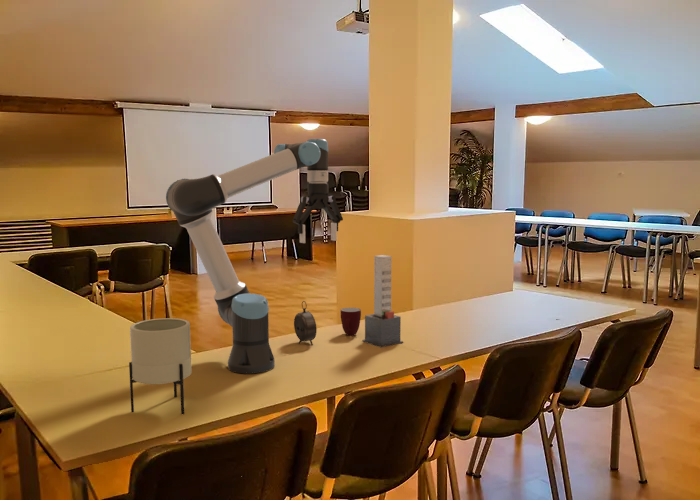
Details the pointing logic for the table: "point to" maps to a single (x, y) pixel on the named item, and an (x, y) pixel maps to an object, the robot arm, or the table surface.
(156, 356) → the planter
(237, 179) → the robot arm
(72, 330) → the table surface
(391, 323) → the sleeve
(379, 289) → the column
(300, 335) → the alarm clock
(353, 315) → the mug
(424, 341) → the table surface
